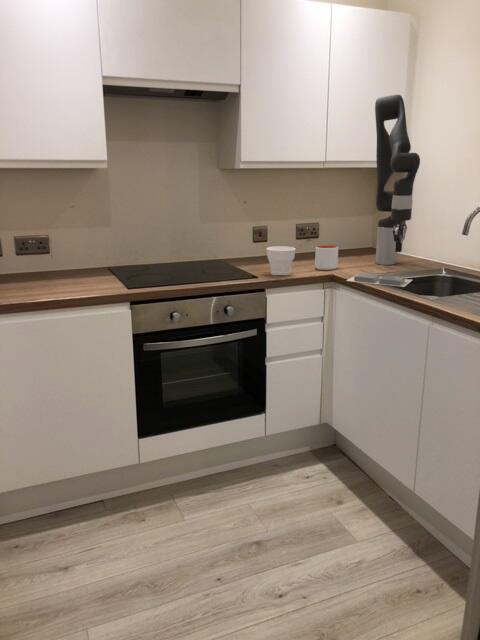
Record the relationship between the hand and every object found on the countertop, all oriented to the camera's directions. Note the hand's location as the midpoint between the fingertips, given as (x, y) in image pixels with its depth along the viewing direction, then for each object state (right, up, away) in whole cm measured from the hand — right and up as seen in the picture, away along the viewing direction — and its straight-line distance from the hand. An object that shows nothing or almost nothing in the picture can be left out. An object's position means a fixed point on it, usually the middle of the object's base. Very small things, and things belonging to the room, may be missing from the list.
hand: (398, 251), depth 203 cm
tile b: (-1, -10, +2) cm, 10 cm away
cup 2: (-24, -4, +29) cm, 38 cm away
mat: (-7, -11, +3) cm, 14 cm away
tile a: (-10, -9, +6) cm, 15 cm away
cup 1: (-45, -7, +19) cm, 49 cm away
